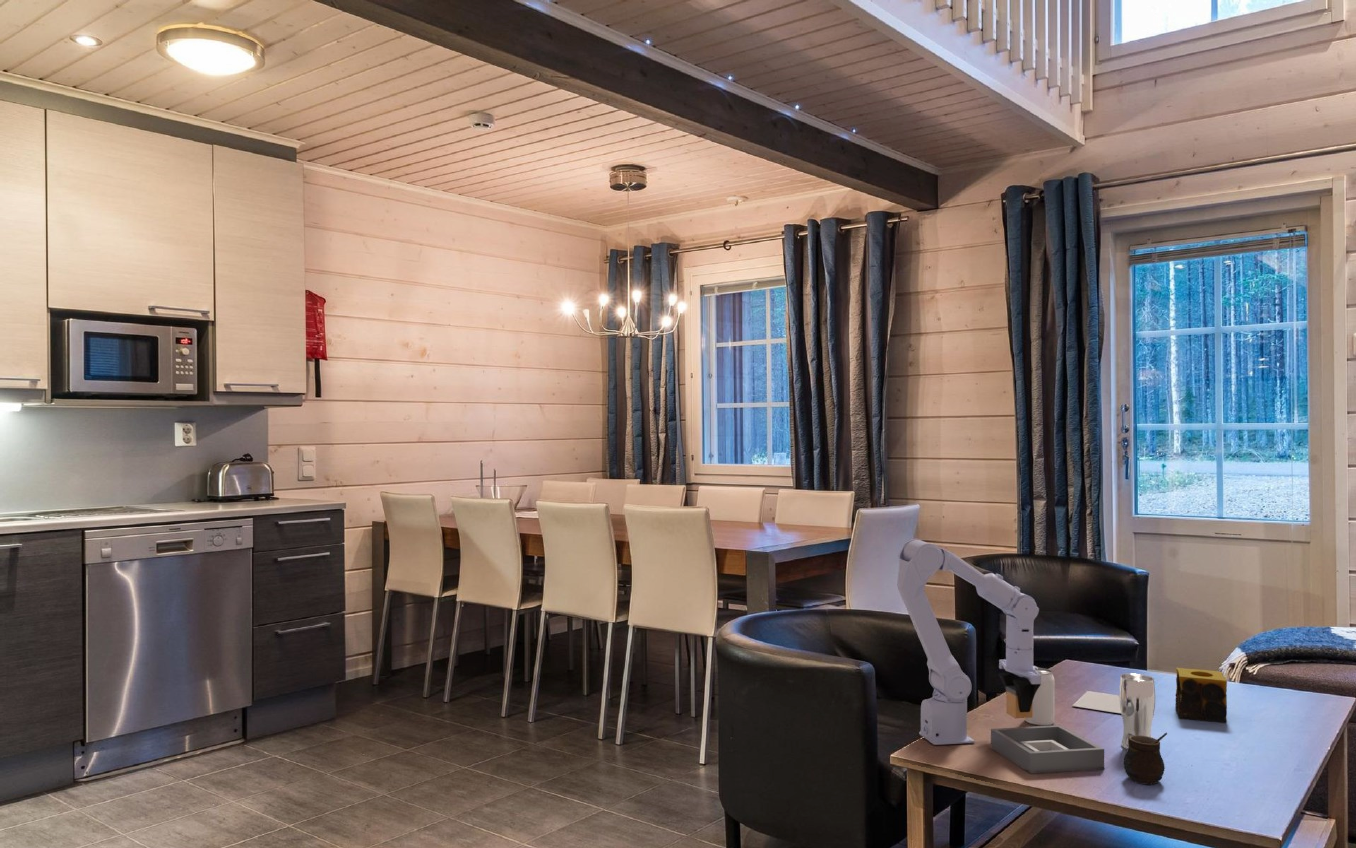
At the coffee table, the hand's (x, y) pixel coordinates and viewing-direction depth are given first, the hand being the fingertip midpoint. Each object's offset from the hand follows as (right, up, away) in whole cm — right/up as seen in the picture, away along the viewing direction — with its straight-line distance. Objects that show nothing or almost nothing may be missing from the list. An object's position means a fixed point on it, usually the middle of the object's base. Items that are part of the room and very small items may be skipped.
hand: (1019, 708), depth 215 cm
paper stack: (+30, -7, +32) cm, 44 cm away
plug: (0, -1, 0) cm, 1 cm away
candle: (+49, -7, +17) cm, 52 cm away
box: (0, -6, -14) cm, 15 cm away
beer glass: (+23, -6, -7) cm, 25 cm away
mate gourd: (+15, -6, -27) cm, 31 cm away
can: (+8, -6, +11) cm, 15 cm away
